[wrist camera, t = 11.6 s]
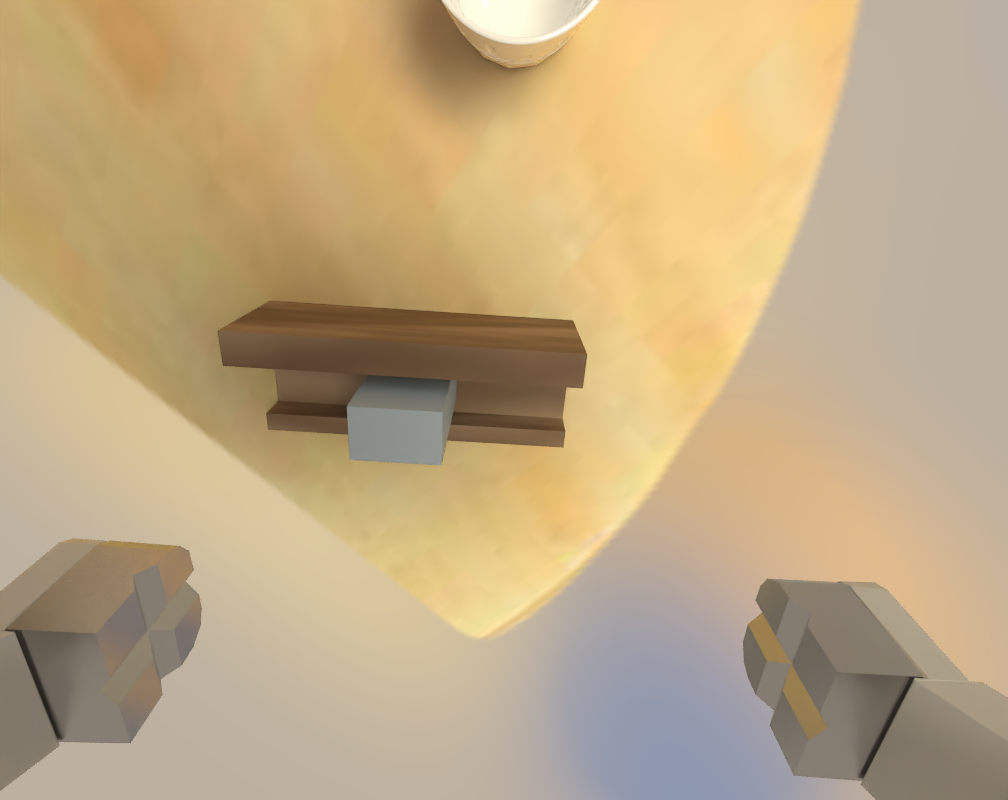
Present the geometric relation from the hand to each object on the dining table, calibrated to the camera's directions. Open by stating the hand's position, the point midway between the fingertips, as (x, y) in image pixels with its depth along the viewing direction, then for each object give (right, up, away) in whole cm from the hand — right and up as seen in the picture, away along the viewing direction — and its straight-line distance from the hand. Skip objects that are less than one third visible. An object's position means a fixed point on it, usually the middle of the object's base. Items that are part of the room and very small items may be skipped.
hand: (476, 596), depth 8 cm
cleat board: (-5, +5, +30) cm, 31 cm away
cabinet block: (-5, +4, +29) cm, 30 cm away
